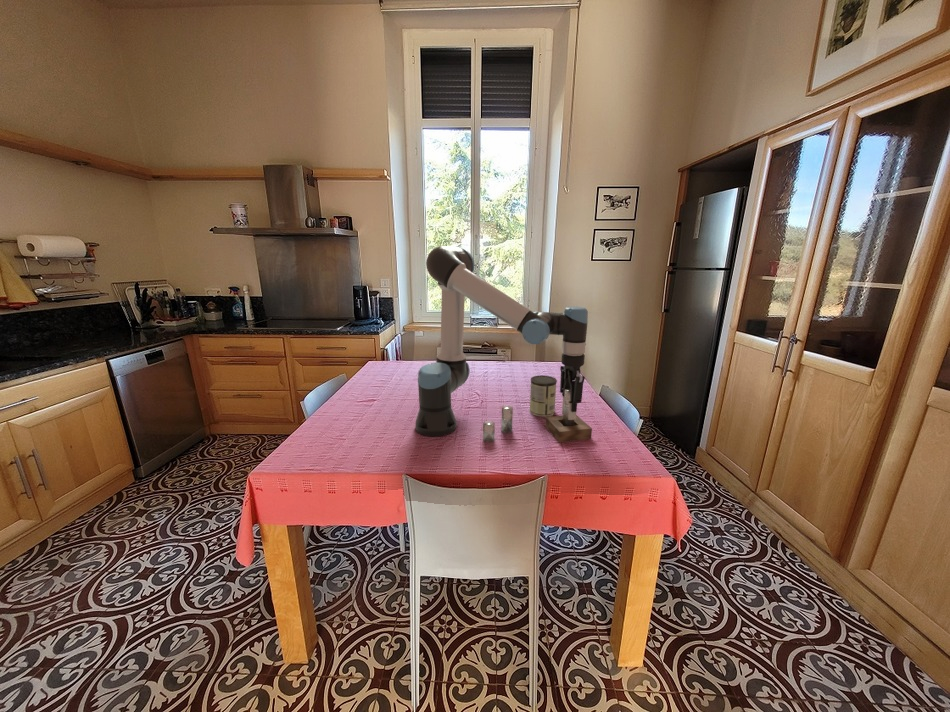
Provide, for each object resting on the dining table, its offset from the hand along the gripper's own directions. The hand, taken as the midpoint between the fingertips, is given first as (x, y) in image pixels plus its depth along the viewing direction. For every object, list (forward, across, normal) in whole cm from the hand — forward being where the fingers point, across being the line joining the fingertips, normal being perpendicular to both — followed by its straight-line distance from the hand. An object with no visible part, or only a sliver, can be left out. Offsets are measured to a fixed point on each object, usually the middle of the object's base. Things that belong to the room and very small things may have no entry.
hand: (568, 416), depth 126 cm
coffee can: (+7, +19, +2) cm, 20 cm away
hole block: (+6, 0, 0) cm, 6 cm away
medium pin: (+6, +6, +21) cm, 23 cm away
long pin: (+4, 0, 0) cm, 4 cm away
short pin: (+6, +1, +29) cm, 30 cm away
